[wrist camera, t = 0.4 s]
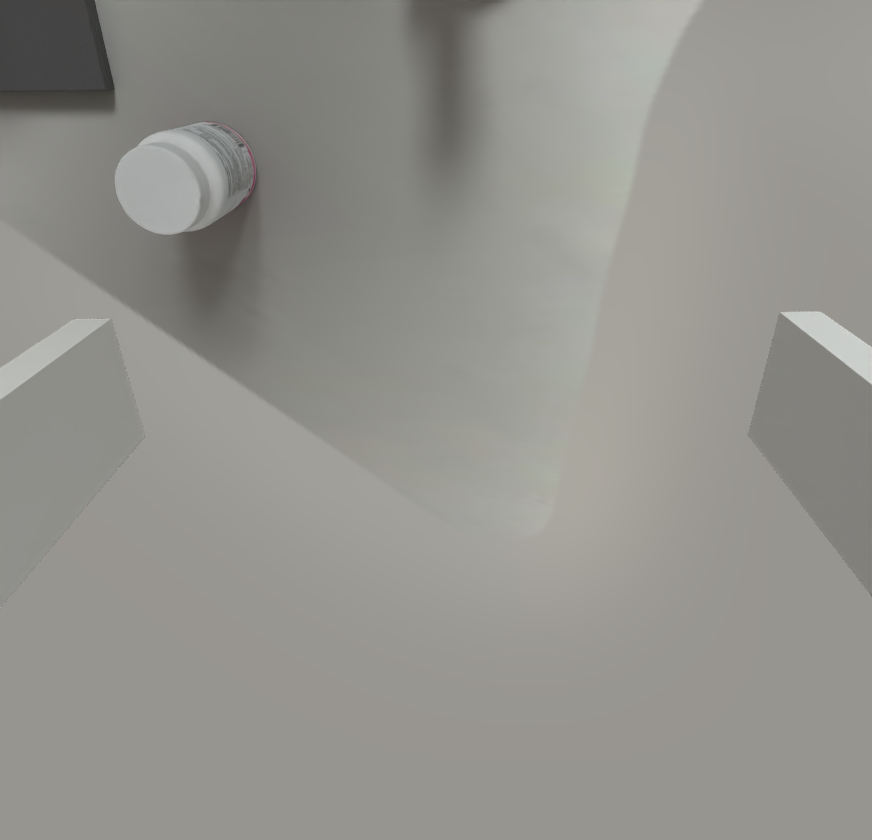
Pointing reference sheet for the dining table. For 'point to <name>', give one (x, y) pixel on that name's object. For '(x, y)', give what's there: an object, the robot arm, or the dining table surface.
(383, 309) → the dining table surface
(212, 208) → the pill bottle
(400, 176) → the dining table surface
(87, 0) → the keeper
